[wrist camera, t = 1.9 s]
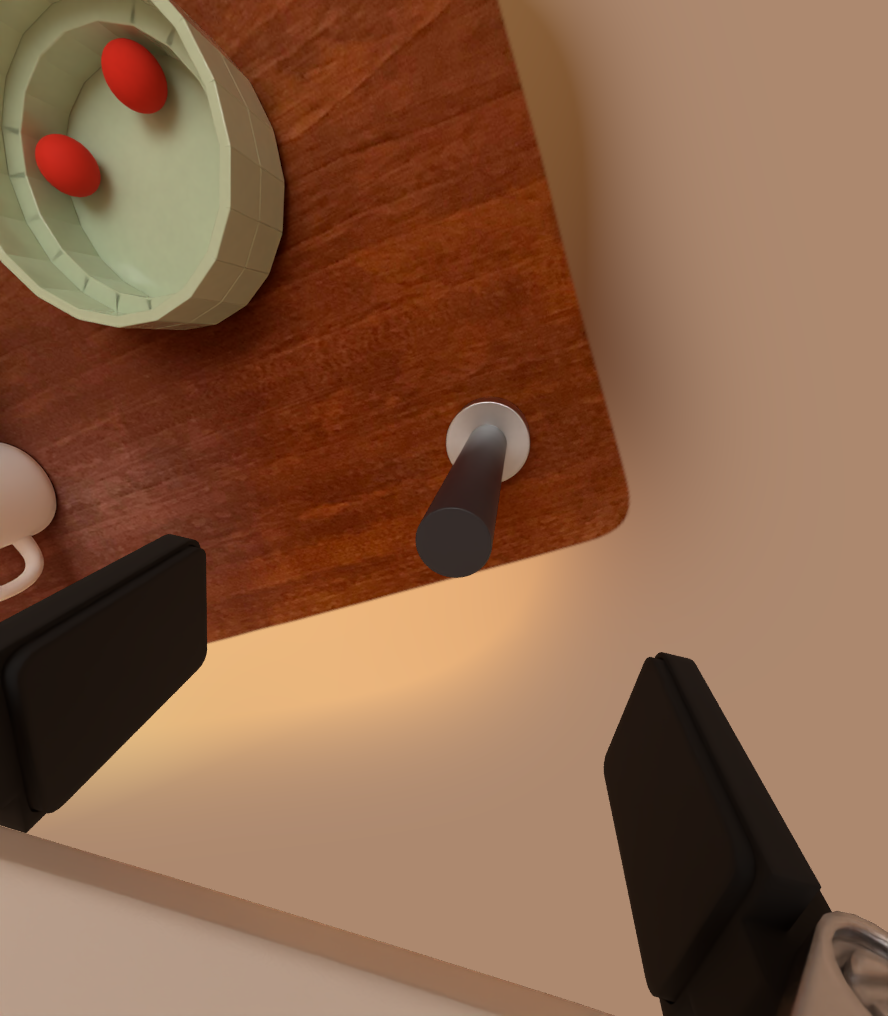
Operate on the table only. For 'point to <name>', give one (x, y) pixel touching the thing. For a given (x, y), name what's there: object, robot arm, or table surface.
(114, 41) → the tomato
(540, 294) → the table surface
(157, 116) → the mixing bowl
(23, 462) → the cup
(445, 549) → the dark post
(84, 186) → the tomato
